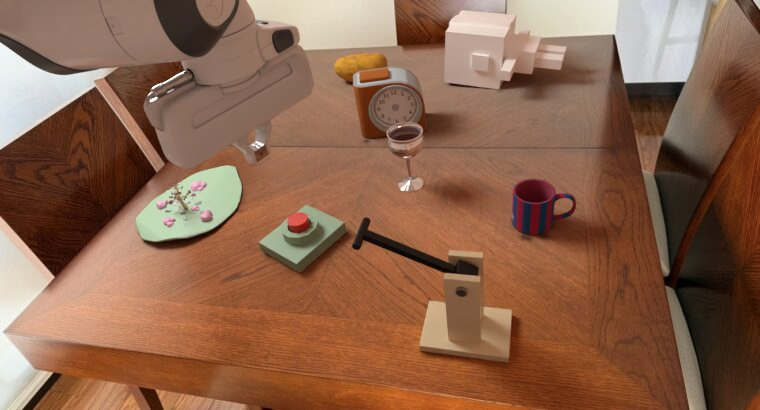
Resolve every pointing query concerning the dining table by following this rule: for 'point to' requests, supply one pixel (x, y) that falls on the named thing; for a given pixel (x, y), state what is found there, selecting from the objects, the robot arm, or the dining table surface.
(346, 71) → the potato
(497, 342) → the bracket
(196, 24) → the robot arm
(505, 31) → the white voxel figure
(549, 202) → the mug
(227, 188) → the plant
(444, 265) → the lever
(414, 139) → the wineglass
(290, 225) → the button
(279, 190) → the dining table surface
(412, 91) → the alarm clock
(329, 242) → the button box
